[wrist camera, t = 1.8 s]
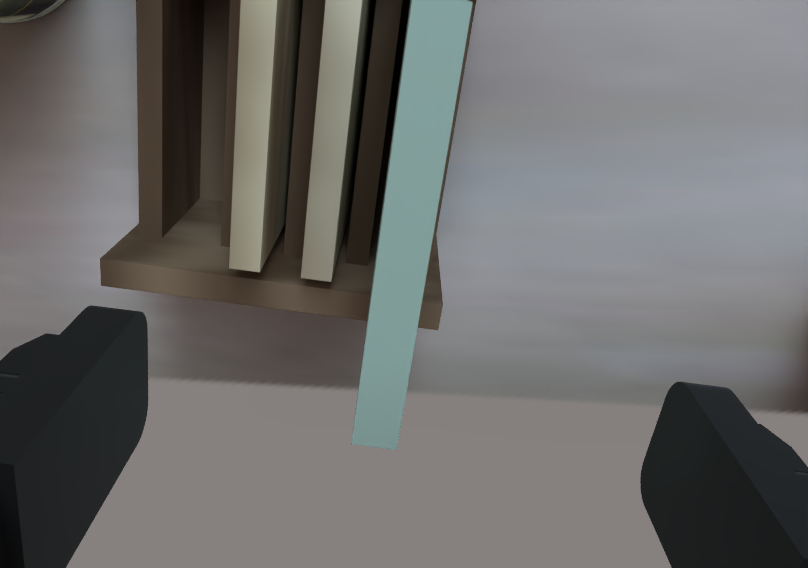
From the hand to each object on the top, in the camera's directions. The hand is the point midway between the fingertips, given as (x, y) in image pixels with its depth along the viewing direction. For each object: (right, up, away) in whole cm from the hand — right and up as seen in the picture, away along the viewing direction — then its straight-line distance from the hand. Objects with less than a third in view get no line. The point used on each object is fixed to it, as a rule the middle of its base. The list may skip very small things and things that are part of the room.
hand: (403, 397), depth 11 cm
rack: (-4, +12, +24) cm, 27 cm away
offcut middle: (-3, +11, +23) cm, 26 cm away
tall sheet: (0, +11, +24) cm, 26 cm away
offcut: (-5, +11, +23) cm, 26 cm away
